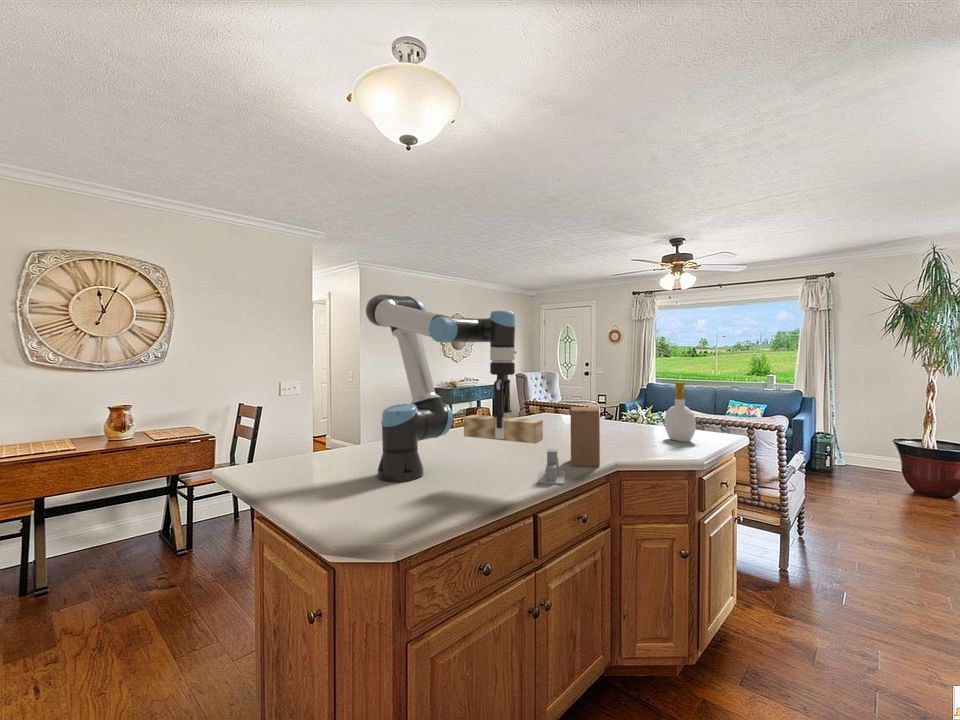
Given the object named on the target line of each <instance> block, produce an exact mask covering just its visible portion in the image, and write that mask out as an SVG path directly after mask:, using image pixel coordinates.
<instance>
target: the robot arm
mask: <svg viewBox="0 0 960 720" xmlns="http://www.w3.org/2000/svg"><path fill="white" fill-rule="evenodd" d="M365 314H366V318H367V320H368V321H369V322H370V323H371V324H373V325H375V326H378V327H383V328H390V330H391V334H392V336H394V337H395V338H396V339H397V341H398V345H399V349H400V355H401V358H402V363H403V366H404V370H405V374H406V378H407V383H408V387H409V391H410V394H411V402H410V403H403V404H402V403H401V404H395V405H392V406H388V407H387V408H385V409H383V411H382V414H381V415H382V416H381V424H380V425H381V431H382V435H381V436H382V437H381V439H382V441H381V443H382V455H381V458H380V462H379V464H378V467H377V478H378V479H379V480H381V481H386V482H406V481H407V482H408V481H412V480H416V479H419V478H422V476H424V466H423V463H422V461H421V458H420V455H419V452H418V448H419V447H418V445H419V444H418V442H419V441H425V440H429V439H436V438H439V437H441V436H444V435H446V434H448V433H449V431H450V429H451V428H452V425H453V420H454V417H453V412H452V409H451V408H450V406H448V404H447V403H443V400H442V396H440V395H439V394H437V393H436V390H435V385H434V382H433V381H434V380H433V378H432V374H431V370H430V366H429V362H428V358H427V355H426V351H425V347H424V342H423V340H422V336H427V337H429V338H432V340H433V341H435V342H437V343H489V345H490V346H489V348H490V349H489V360H490V361H491V362H490V363H489V367H490V369H489V373H490V374H491V375H492V376H493V375H494V376H495V375H496V380H495V381H494V383H493V387H494V388H493V391H494V392H493V393H494V394H493V395H494V397H493V414H492V415H491V416H493V417H495V439H504V423H505V417H510V414H511V413H512V409H511V391H510V390H511V389H510V387H511V379H509V376H511V375H514V374H515V371H516V370H515V369H516V367H515V366H516V365H515V362H514V361H515V356H516V355H517V353H518V352H517V350H516V349H515V347H516V346H515V341H516V340H515V339H516V338H515V336H516V320H515V313H514V312H513V311H510V310H494V311H491V312H490V316H489V317H488V318H476V317H474V318H473V317H472V318H471V317H457V316H455V317H454V316H448V315H444V314H439V313H437V312H436V313H434V312H431V311H427V310H426V309H425V306H424V304H423V302H421V300H419V299H418V298H415V297H413V296H412V297H411V296H407V295H404V296H401V295H392V294H378V295H375V296H373V297H371V298H370V299H369V300H368V301H367V304H366V306H365ZM495 439H494V440H495Z"/></svg>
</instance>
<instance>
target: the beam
mask: <svg viewBox="0 0 960 720" xmlns="http://www.w3.org/2000/svg"><path fill="white" fill-rule="evenodd" d="M543 423H544V421H543V419H533V418H522V417H521V418H519V417H510V416H509V417H505V423H504V439H495V417H493V416H492V415H480V414H478V415H477V414H470V415H467V416H464V417H463V437H467V438H475V439H477V438H478V439H485V440H494V441H495V440H496V441H505V442H506V441H507V442H514V443H515V442H516V443H525V444H538V443H540V442H542V441H543V440H544V439H543V438H544V435H543V434H544V430H543V429H544V428H543V427H544V424H543Z"/></svg>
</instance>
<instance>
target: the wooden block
mask: <svg viewBox="0 0 960 720" xmlns="http://www.w3.org/2000/svg"><path fill="white" fill-rule="evenodd" d="M600 419H601V418H600V410H599V407H597V406H571V407H570V465H571V466H572V467H590V468H600V467H601V465H600V464H601V456H600V455H601V454H600V452H601V449H600V448H601V446H600V438H601V435H600V433H601V432H600V431H601V430H600V425H601V421H600Z"/></svg>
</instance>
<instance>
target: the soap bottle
mask: <svg viewBox="0 0 960 720" xmlns="http://www.w3.org/2000/svg"><path fill="white" fill-rule="evenodd" d="M674 383H675V388H676V391H675V398H674V405H673V406H671V407H669V409H667V410H666V413H665V416H664V426H665V431H666V434H667V436H668V439H670V440H672V441H676V442H681V443H688V442H691V441H692V439H693V437H694V435H695V432H696V425H697V424H696V416H695V415H694V412H693V411H692V410H691V409H690V408H689V407H688V406H686V399H685V392H684V387H685V386H687V385H688V384H686V383H685V382H682V381H680V382H679V381H677V382H674Z"/></svg>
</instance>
